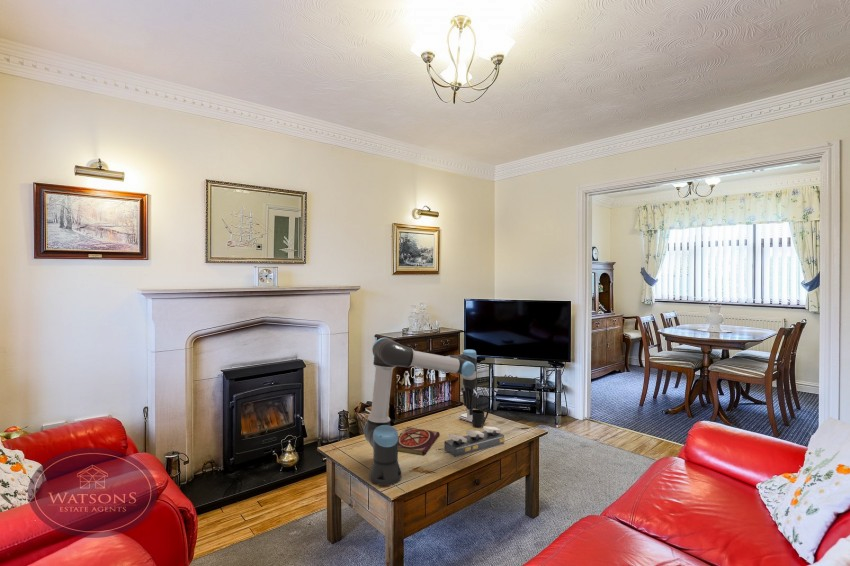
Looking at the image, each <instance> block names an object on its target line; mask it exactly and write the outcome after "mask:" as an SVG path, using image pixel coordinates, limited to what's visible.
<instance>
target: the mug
mask: <svg viewBox="0 0 850 566" xmlns="http://www.w3.org/2000/svg"><path fill="white" fill-rule="evenodd" d="M485 413H486V414H485ZM488 416H489V410H483V409H477V408H475V409H473V420H471V422H472V423H471V424H472V427H473V428H477V429H479V428H482V427H483V425H484V424H485V422H486V420H487V418H488Z"/></svg>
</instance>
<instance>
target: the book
mask: <svg viewBox="0 0 850 566" xmlns="http://www.w3.org/2000/svg"><path fill="white" fill-rule="evenodd" d="M440 435H441V433H440V431H435V430H429V429H424V428H417V427H412V426H411V427H410V426H407V427H406V428H405V429H404V430H402V431H401V432H400V434H399V435H398V453H401V452H404V453H409V454H414V455H415V454H416V455H421V456H423V457H424V456H425V455H426V454H427V453H428V452H429V450H430V449H431V447H432V446H433V445H434V444H435V442H436V441H437V440H438V438H439V437H440Z"/></svg>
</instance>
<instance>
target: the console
mask: <svg viewBox="0 0 850 566" xmlns="http://www.w3.org/2000/svg"><path fill="white" fill-rule="evenodd" d="M481 432H482V433H483V434H484V437H479V439H475V438H474V437H471V436H469V435H468V434H466V435H464V436H462V437H464V438H466V439H467V441H466V442H462V443H461V444H458V443H457V442H455V441H454V440H452V439H451V438H450V439H448V440H444V449H443V450H444V451H445V452H446V453H448V454H450V455H451V456H452V457H454V458H456V457H460V456H464V455H468V454H472V453H475V452H478V451H482V450H487V449H490V448H494V447H497V446H501V445H504V444H505V435H504V434H502V433H501V432H500V433H496V434H495V435H493V434H491V433H489V432H487V431H485V430H483V431H481Z"/></svg>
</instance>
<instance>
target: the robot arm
mask: <svg viewBox="0 0 850 566" xmlns="http://www.w3.org/2000/svg"><path fill="white" fill-rule="evenodd" d="M371 350H372V355H373V363H372V364H373V366H374V367H375V371H374V372H375V374H374V383H373V389H372V390H373V393H372V401H371V408H370V409H371V412H370V414H369V415H368V416H367V420H366V422H365V424H364V425H363V426H364V427H363V436H364V438H365V440H366V441H367V442H368V443H369V444H370V446H371V447H372V450H373V456H372V457H373V462H372V465H371V469H370V472H369V481H370V482H371V481H372V482H371V483H373V484H374V483H375V485H377V484H379V485H378V486H391V485H390V484H392V485H394V483H395V484H397V483H399V482H400V481H401V480H402V470H401V467H400V464H399V459H398V458H399V457H398V456H399V452H398V436H399V435H398V434H399V433H398V430H397V429H396V427H394V426H392V425H391V418H390V417H389V409H390V408H389V407H390V406H389V405H390V399H391V398H390V397H391V389H392V379H393V372H394V371H393V370H394V369H395V368H397V367H401V368H402V367H403V368H407V369H408V368H410V367H415V368H422V369H427V370H435V371H438V372H445V373H446V372H447V373H452V374H456V375H461V376H462V377H463V378H462V385H463V387H461V392H462V400H463V405H464V407H466V421H468V422H471V421H472V420H473V410H475V409H477V408H476V407H477V400H478V396H479V392H477V391H476V386H477V381H478V379H477V368H478V367H477V359H478V357H477V351H476V350H475V349H464V350H463V351H462V354H454V355H446V356H444V355H440V354H435V353H428V352H424V351H423V352H422V351H419V350H414V349H413V347H409V346H406V345H403V344H400V343H399V342H397V341H395V340H393V339H392V338H389V337H381V338H379V339H377V340H376V341H375V342H374V343H373V344H372V349H371ZM400 479H401V480H400ZM398 481H399V482H398ZM396 482H397V483H396Z"/></svg>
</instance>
